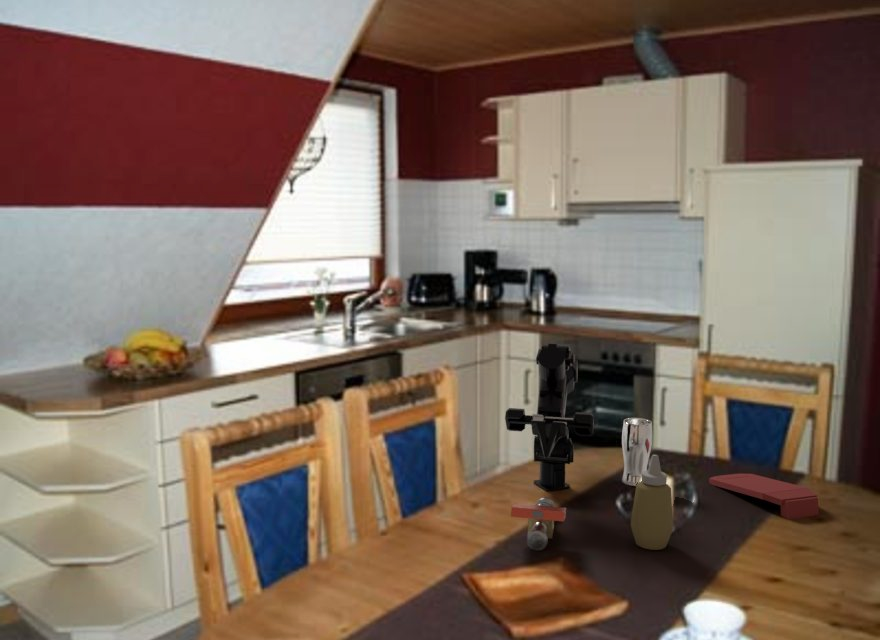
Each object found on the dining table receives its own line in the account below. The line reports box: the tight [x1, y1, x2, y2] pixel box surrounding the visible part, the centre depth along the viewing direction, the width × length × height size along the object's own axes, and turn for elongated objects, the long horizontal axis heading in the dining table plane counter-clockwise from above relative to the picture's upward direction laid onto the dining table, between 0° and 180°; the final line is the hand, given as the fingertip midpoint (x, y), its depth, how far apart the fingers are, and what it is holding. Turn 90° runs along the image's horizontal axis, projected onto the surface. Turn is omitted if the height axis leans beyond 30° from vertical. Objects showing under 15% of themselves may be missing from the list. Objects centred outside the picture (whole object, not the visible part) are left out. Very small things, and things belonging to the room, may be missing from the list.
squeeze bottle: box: [629, 454, 674, 551], centre depth 154 cm, size 8×8×18 cm
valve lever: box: [510, 502, 567, 522], centre depth 156 cm, size 2×10×11 cm
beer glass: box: [621, 417, 653, 487], centre depth 190 cm, size 7×7×15 cm
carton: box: [708, 473, 820, 520], centre depth 182 cm, size 12×5×25 cm
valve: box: [526, 497, 556, 552], centre depth 161 cm, size 18×5×4 cm, turn 168°
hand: (546, 457), depth 167 cm, fingers closed
